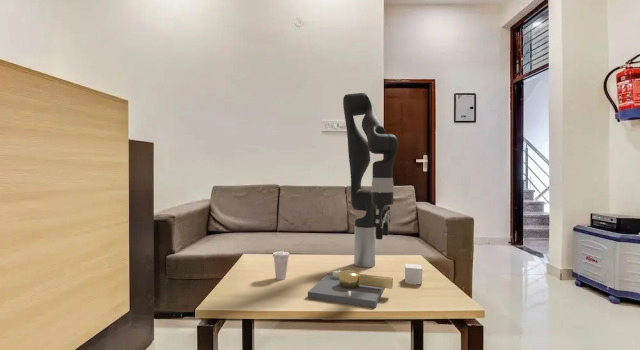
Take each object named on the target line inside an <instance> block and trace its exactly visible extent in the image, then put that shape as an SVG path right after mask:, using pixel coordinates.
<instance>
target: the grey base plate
mask: <svg viewBox="0 0 640 350" xmlns="http://www.w3.org/2000/svg"><path fill="white" fill-rule="evenodd" d="M341 271H342V270H333V271H332V272H331V273H330V272H329V273H327V274H326V275H325V276H324V277H323V278H322V279H320V280H319V281H318V282H317V283H316V284H314V286H313V287H311V288H310V290H308V291H307V299H311V300H312V299H313V300H319V301H326V302H335V303H338V304H339V303H340V304H347V305H353V306H354V305H355V306H361V307H367V308H373V309H375V308H377V305H378V303H379V302H380V299H381V298H382V295H383V293H384V291H385V289H386V288H380V287H372V286H364V285H360V286H359V287H357V288H344V287H341V286H340V285H339V272H341Z"/></svg>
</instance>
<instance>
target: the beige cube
mask: <svg viewBox="0 0 640 350" xmlns="http://www.w3.org/2000/svg"><path fill="white" fill-rule="evenodd" d="M404 283H409V284H408V285H416V284H422V285H423V267H422V264H415V263H404Z"/></svg>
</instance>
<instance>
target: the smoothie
mask: <svg viewBox="0 0 640 350" xmlns="http://www.w3.org/2000/svg"><path fill="white" fill-rule="evenodd" d="M272 257H273V261H274V262H273V263H274V273H275V279H276V281H277V280H279V281H282V280H286V278H287V272H288V264H289V263H288V262H289V257H290V252H288V251H284V241H281V250H279V251H275V252H273V253H272Z"/></svg>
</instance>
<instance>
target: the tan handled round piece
mask: <svg viewBox="0 0 640 350" xmlns="http://www.w3.org/2000/svg"><path fill="white" fill-rule="evenodd" d="M340 271H341V272H339V285H340V286H341V287H344V288H357V287H359V286H360V285H364V286H372V287H380V288H385V289H389V290H392V289H393V286H394V285H393V282H394V280H393V279H394V278H393V277H391V276H380V275H372V274H363V273H360V272H359V271H356V270H349V269H347V270H340Z"/></svg>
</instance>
